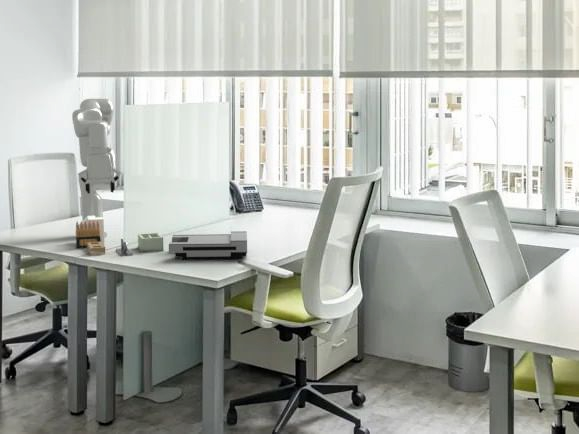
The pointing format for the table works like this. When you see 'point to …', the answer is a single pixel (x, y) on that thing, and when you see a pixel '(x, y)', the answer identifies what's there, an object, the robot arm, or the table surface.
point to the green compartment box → (150, 242)
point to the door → (96, 248)
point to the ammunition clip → (87, 234)
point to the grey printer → (209, 246)
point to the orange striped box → (95, 219)
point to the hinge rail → (124, 249)
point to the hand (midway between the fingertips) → (100, 192)
